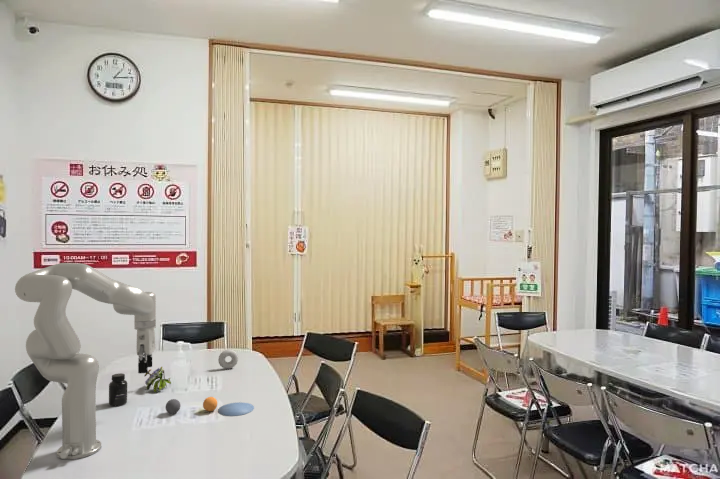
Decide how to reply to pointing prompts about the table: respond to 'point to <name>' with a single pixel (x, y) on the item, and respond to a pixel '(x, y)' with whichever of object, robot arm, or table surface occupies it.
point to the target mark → (236, 409)
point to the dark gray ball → (172, 406)
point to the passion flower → (161, 382)
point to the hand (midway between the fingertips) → (145, 369)
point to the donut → (232, 363)
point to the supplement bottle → (118, 390)
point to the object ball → (210, 404)
